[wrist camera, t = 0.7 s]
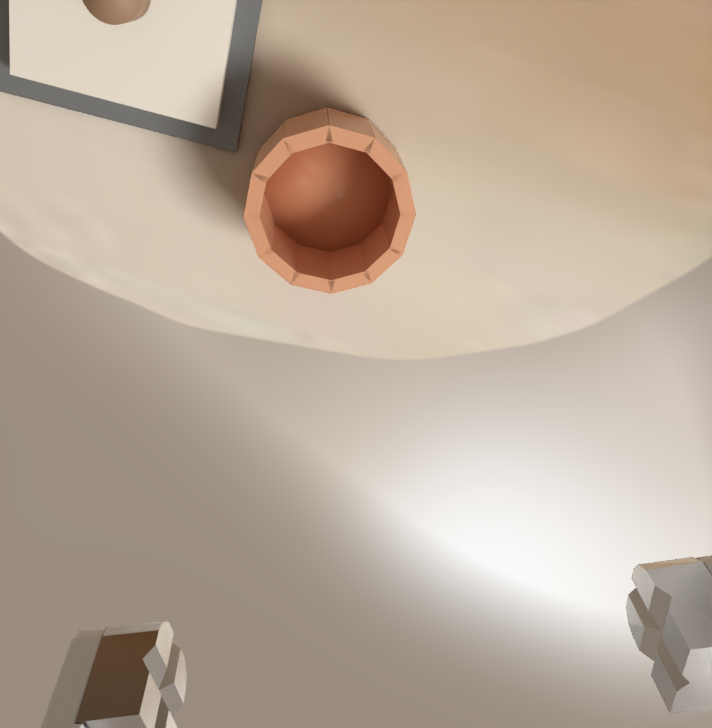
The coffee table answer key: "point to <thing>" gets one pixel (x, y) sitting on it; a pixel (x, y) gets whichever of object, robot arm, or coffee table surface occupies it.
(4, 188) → the coffee table surface
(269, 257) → the bowl
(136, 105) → the lid
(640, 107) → the coffee table surface
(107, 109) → the mat
